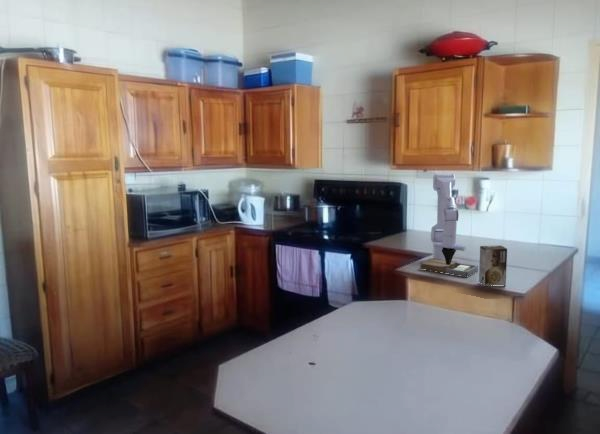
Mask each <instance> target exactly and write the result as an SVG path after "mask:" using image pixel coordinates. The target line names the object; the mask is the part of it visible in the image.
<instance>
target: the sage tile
mask: <svg viewBox="0 0 600 434" xmlns="http://www.w3.org/2000/svg"><path fill="white" fill-rule="evenodd" d="M453 270H460V271H467V269H465V268H459V267H457V268H455V269H453Z"/></svg>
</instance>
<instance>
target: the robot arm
mask: <svg viewBox="0 0 600 434" xmlns="http://www.w3.org/2000/svg"><path fill="white" fill-rule="evenodd" d="M432 180H433V181H432V183H433V184H432V187H433V190H434V191H435V192H436V194H437V205H436V206H437V207H436V208H437V210H436V211H437V213H436V214H437V217H436V219H437V220H436V224H435V225H433V226H432V227H431V230H430V231H431V232H430V241H431V243H432V247H433V255H432V258H436V259H442V260H445V261H446V265H450V264H451V261H453V258H454V256H455V253H457V251H461V252H465V251H466V249H467V248H466V246H464V245H460V244H457V227H458V225H457V222H458V221H459V214H460V213H459V208H457V207H456V200H455V198H454V197H453V196H452V191H453V189H454V187H455V184H456V175H455V174H454V173H435V174H434V175H433V178H432Z"/></svg>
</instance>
